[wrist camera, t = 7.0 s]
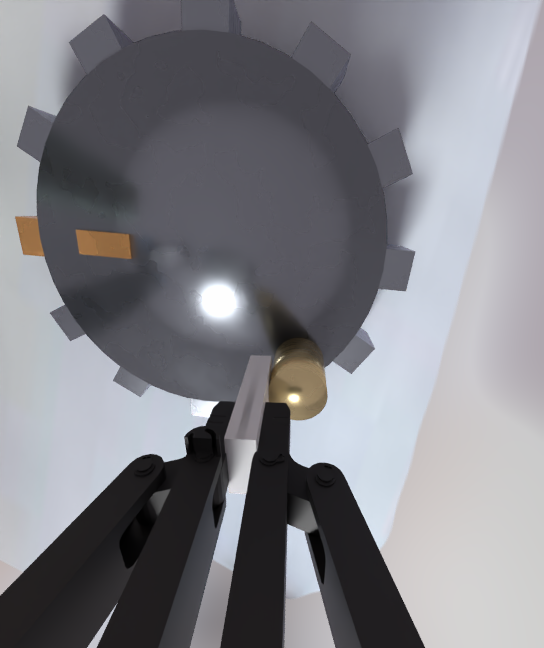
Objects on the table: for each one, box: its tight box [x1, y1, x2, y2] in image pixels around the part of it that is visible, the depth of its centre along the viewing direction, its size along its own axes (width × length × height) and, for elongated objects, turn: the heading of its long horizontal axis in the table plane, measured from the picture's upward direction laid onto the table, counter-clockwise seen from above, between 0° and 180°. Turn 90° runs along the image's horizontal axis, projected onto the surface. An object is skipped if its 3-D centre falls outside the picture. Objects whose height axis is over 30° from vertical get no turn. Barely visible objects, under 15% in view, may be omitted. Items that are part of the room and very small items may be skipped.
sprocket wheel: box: [15, 0, 415, 420], centre depth 17 cm, size 23×23×7 cm
